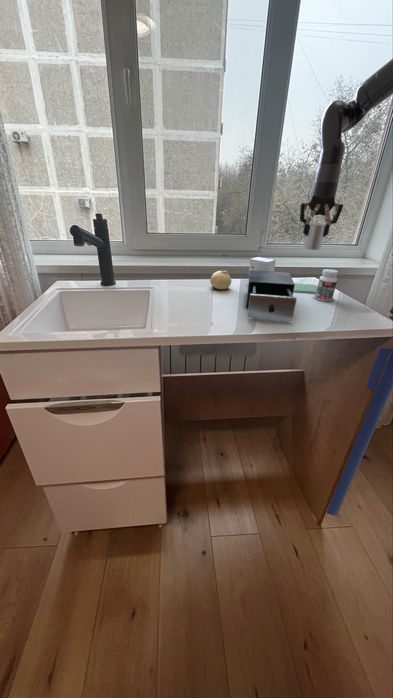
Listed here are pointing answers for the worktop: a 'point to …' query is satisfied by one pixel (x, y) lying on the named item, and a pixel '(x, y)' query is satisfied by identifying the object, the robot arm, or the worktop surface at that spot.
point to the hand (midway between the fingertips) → (314, 235)
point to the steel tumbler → (314, 236)
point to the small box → (262, 264)
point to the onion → (220, 280)
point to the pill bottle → (326, 285)
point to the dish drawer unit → (268, 281)
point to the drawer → (271, 303)
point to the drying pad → (305, 288)
